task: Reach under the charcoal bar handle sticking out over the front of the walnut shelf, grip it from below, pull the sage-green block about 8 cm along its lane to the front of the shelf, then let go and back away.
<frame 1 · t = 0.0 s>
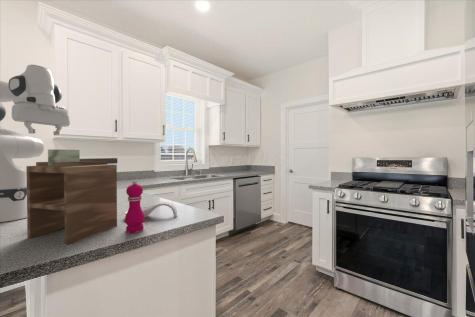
hand: (45, 134, 94), 39 cm above the counter, tool pointing down, fingers open, 8 cm apart
spoon rest: (151, 217, 105), on the counter
pepper mill: (134, 230, 86), on the counter
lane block: (64, 165, 80), point 26 cm above the counter, touching walnut shelf
walnut shelf: (75, 231, 85), on the counter
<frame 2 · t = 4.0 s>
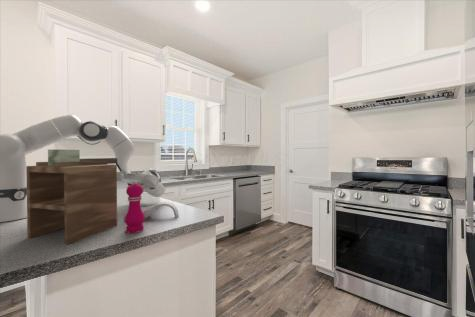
hand: (129, 172, 111), 21 cm above the counter, tool pointing upward, fingers open, 8 cm apart
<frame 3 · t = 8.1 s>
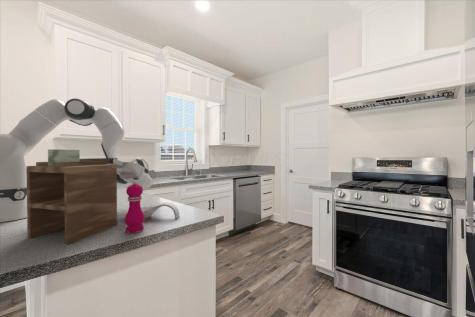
hand: (109, 159, 99), 28 cm above the counter, tool pointing upward, fingers closed on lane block, 2 cm apart
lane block: (64, 165, 80), point 26 cm above the counter, touching gripper, walnut shelf
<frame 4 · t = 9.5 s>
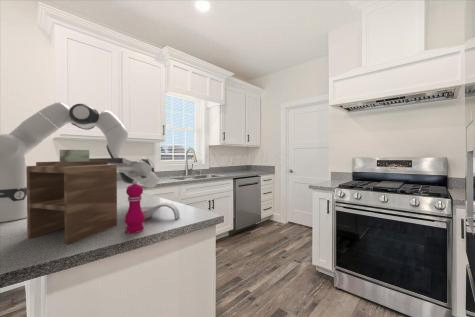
hand: (118, 159, 104), 28 cm above the counter, tool pointing upward, fingers closed on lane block, 2 cm apart
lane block: (75, 165, 84), point 26 cm above the counter, touching gripper, walnut shelf
when the fingers open (28 cm above the counter, at t = 11.1 s): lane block stays where it is, resting on walnut shelf.
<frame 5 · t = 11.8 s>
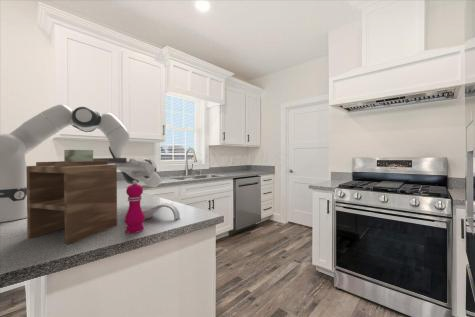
hand: (123, 159, 107), 28 cm above the counter, tool pointing upward, fingers open, 8 cm apart
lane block: (79, 165, 86), point 26 cm above the counter, touching walnut shelf
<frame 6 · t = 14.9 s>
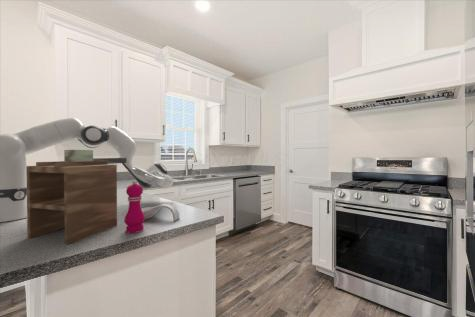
hand: (139, 172, 116), 20 cm above the counter, tool pointing upward, fingers open, 8 cm apart
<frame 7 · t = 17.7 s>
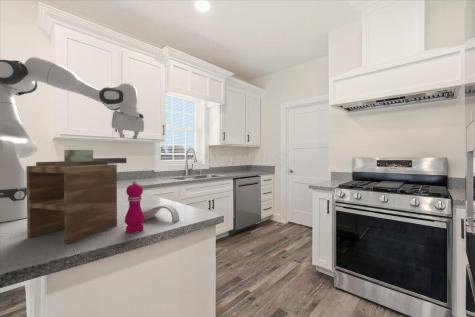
hand: (128, 138, 121), 39 cm above the counter, tool pointing down, fingers open, 8 cm apart
at the end: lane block inside the target area (2.8 cm from its centre), point 26.0 cm above the counter; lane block tilted 0°; the gripper is holding nothing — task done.
